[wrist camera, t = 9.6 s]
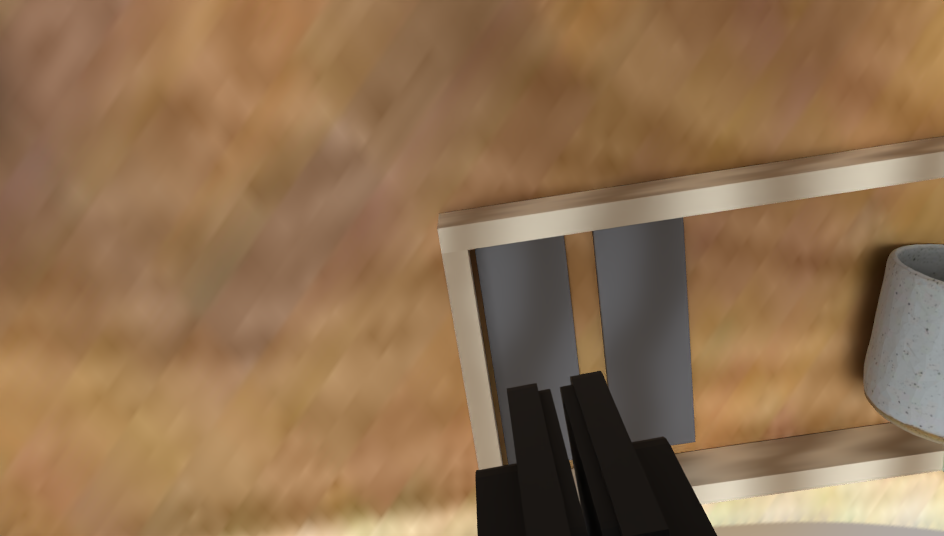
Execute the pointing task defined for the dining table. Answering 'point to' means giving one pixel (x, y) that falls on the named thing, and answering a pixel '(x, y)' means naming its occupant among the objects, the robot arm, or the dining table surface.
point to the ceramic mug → (909, 343)
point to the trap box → (653, 315)
